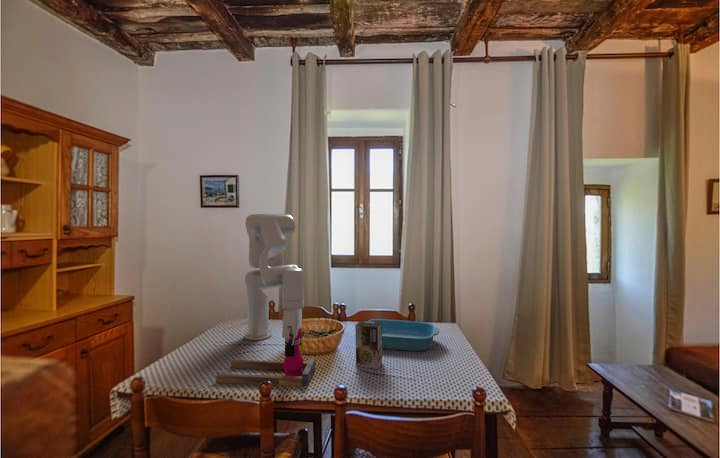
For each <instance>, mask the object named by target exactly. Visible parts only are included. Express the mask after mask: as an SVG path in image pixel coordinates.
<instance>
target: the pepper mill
mask: <svg viewBox="0 0 720 458" xmlns="http://www.w3.org/2000/svg"><path fill="white" fill-rule="evenodd" d="M291 331H292V330H291ZM302 333H303V331H302V329H301V328H299V331H298V335H297V337H296V338H294V344H293V345H295V355H294V357H287V356H285V357H284V360H283V361H284V363H283V367H284V369H283V370H285V371H284V376H302V373H303V371H304V370H302V367H303V366H304V362H305V360H304V357H303V355H302V353H301V350H300V345H299V343H300V338H299V337H300V336H301V337H302ZM290 336H293V335H290ZM291 341H292V339H291Z"/></svg>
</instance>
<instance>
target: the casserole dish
mask: <svg viewBox="0 0 720 458" xmlns="http://www.w3.org/2000/svg"><path fill="white" fill-rule="evenodd" d="M367 321H374V322H382V349H390V350H392V349H393V350H400V351H401V350H402V351H412V352H414V351H415V352H422V351H427V350H428V349H429V348H430V347H431V345H432V343H433V340H434V337H435V336H437V335H439V334H440V329H439V328H438V327H437V326H435V325H434V324H432V323H430V322H423V321H414V320H413V321H412V320H398V319H385V318H373V319H369V320H367Z"/></svg>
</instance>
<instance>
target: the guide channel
mask: <svg viewBox="0 0 720 458" xmlns="http://www.w3.org/2000/svg"><path fill="white" fill-rule="evenodd" d="M283 363H284V360H257V359H256V360H251V359H232V360H230V369H249V370H250V369H251V370H252V369H253V370H257V369H258V370H259V369H260V370H285V369H284V367H283ZM316 363H317V362H316V357H309V359H308V361H304V366H303V367H302V370H303V373H302V376H285V375H269V374H268V375H267V374H263V375H262V374H237V373H236V374H235V373H233V374H232V373H231V374H230V373H217V374H216V376H215V384H232V385H236V384H237V385H261V384H260V383H262V382H264V381H270V382H271V383H272V384H273V385H272V386H295V385H296V387H297V386H302V387H308V386H309V385H310V382H311V379H312V378H313V376H314V373H315V371H316ZM312 375H313V376H312Z"/></svg>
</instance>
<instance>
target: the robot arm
mask: <svg viewBox="0 0 720 458" xmlns="http://www.w3.org/2000/svg"><path fill="white" fill-rule="evenodd" d="M295 221H296V220H295V219H294V217H293V216H292V215H290V214H284V213H253V214H250V215H248V216H247V217H246V219H245V229H246V232H247V236H248V239H249V240H248V241H249V243H248V244H249V246H248V262H249V263H248V264H249V266H250V267H251V268H254V269H252V270H250V271H248V272H247V273H246V274H245V275H244V283H245V288H246V295H247V296H246V299H247V300H246V301H247V304H246V305H247V332H245V333H244V338H245V339H246V340H249V341H260V340H265V339H268V338H270V337H272V335H273V331H272V330H270V329H269V327H270V326H269V325H270V322H269V321H270V320H269V297H268V295H267V294H266V293H265V292H264V290H269V289H276V288H277V289H278V288H280V287H281V295H282V296H281V301H282V302H281V303H282V304H281V305H282V307H281V308H282V309H283V311H282V312H283V313H282V326H281V327H282V331H281V332H282V334H281V336H282V338H283V339H284V356H285V357H286V356H287V357H294V355H295V345H293V344H294V338H296V337H297V335H298V331H299V328H301V330H302V329H303V312H302V310H303V308H304V307H305V302H304V301H305V286H304V284H305V283H304V281H305V279H304V277H305V273H304V271H303V269H302V268H299V266H298V265H297V264H285V263H284V262H285V257H284V252H283V251H285V250H286V249H287V247H288V240H287V238H286V235H292V234H293V233H295V230H296V222H295ZM291 330H292V331H291ZM290 335H293V336H290ZM299 338H300V343H299V346H301V345H302V335H301V336H300V337H299ZM291 339H292V341H291Z"/></svg>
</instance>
